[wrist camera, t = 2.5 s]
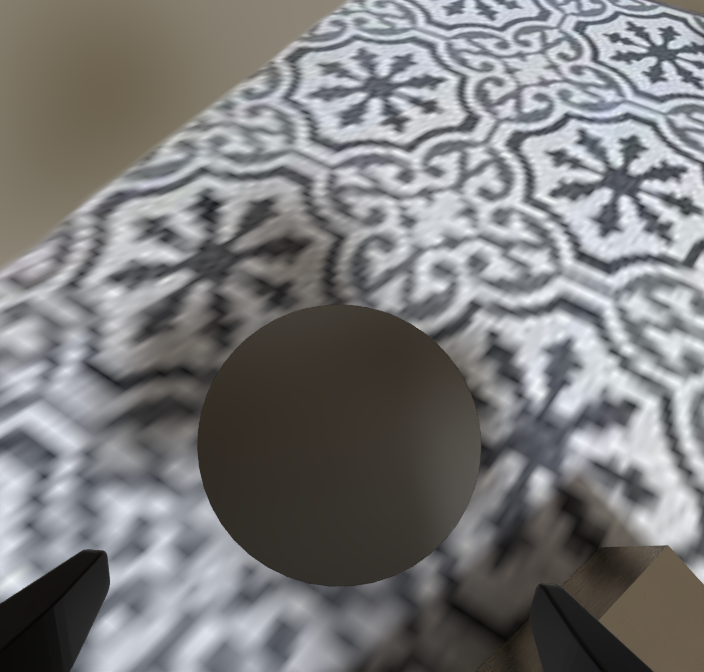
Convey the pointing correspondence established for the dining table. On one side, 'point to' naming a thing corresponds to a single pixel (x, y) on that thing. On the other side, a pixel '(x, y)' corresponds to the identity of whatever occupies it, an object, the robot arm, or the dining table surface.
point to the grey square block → (629, 610)
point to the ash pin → (339, 445)
